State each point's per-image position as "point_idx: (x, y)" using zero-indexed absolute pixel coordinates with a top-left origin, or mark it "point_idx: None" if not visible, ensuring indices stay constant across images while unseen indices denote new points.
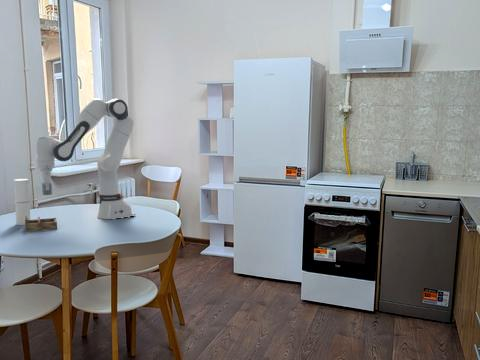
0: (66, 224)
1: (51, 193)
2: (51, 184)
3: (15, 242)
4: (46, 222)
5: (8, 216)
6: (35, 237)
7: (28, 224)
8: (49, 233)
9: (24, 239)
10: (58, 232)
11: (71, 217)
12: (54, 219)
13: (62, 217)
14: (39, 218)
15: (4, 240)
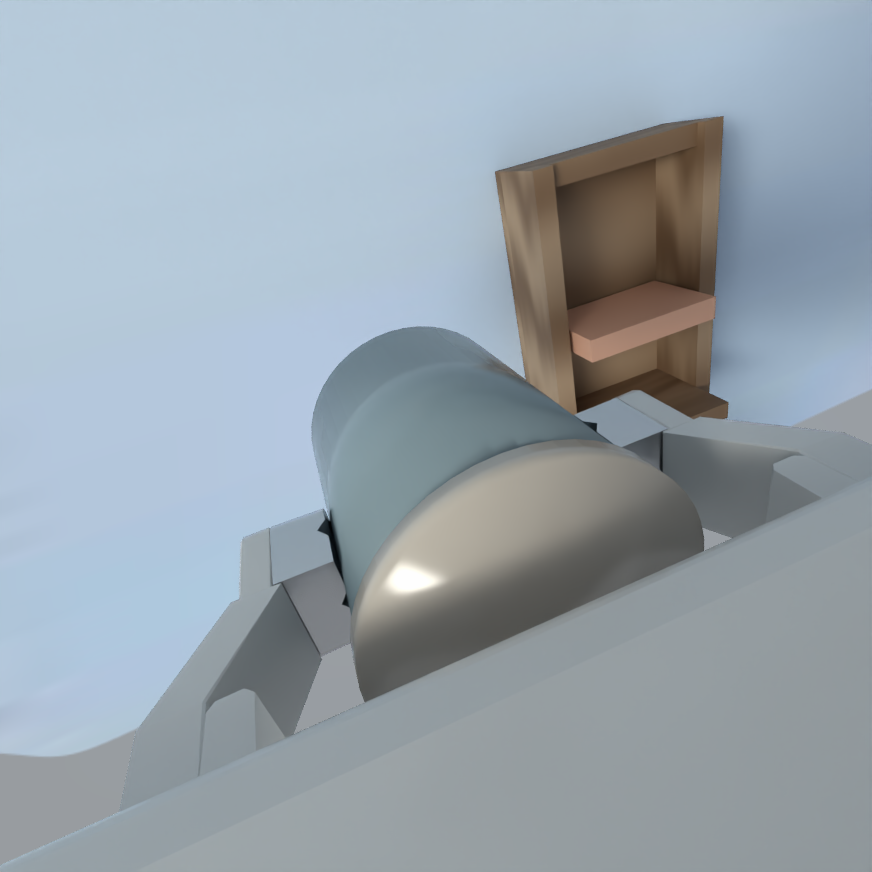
0: (492, 41)
1: (458, 336)
2: (554, 435)
3: (860, 348)
4: (709, 230)
5: (109, 715)
6: (819, 257)
7: (708, 374)
8: (765, 171)
9: (828, 317)
10: (768, 89)
11: (64, 7)
12: (563, 181)
13: (85, 167)
14: (658, 322)
15: (793, 424)
